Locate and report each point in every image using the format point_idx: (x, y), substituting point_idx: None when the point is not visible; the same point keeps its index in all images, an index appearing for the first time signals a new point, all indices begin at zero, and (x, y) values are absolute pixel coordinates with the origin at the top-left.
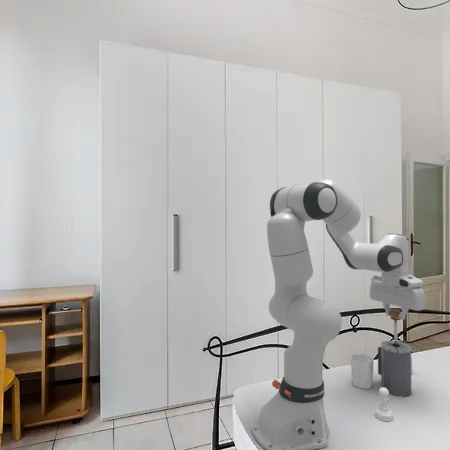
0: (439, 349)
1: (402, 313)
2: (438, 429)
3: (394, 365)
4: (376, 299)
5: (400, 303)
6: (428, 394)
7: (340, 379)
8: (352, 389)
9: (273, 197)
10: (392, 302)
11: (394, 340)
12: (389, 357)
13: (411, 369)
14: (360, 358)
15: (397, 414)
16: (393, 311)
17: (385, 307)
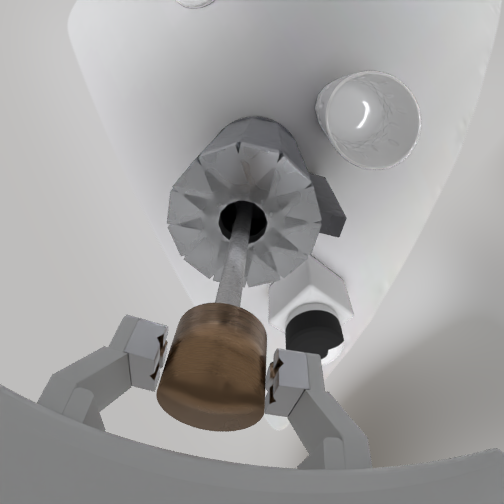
0: (282, 427)
1: (92, 354)
2: (90, 59)
3: (226, 136)
4: (455, 469)
5: (34, 446)
6: None
7: None
8: (350, 56)
9: None
10: (184, 484)
11: (244, 229)
12: (243, 135)
13: (269, 296)
14: (391, 153)
15: (179, 28)
16: (200, 372)
17: (332, 418)
